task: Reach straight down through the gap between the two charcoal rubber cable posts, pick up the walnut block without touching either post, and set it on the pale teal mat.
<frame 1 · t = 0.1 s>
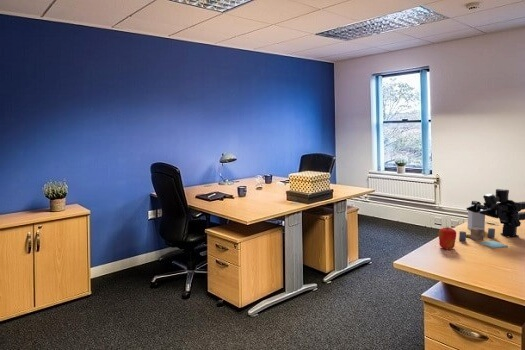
hand: (473, 210, 206), 17 cm above the table, tool horizontal, fingers open, 9 cm apart
apple: (446, 248, 195), on the table
supplement box: (475, 229, 228), on the table
cable post 2: (491, 237, 211), on the table
walnut block: (476, 239, 209), on the table
cable post 1: (462, 240, 207), on the table
pale teal mat: (493, 245, 198), on the table
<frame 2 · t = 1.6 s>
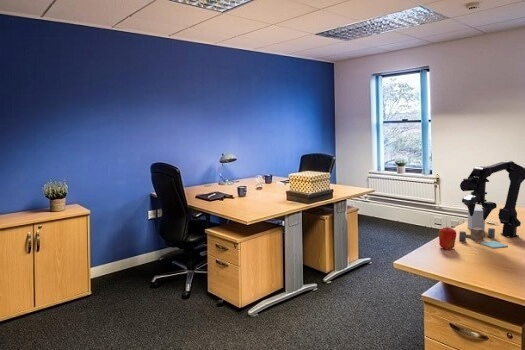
hand: (477, 218, 207), 12 cm above the table, tool pointing down, fingers open, 9 cm apart
nothing on the table moved.
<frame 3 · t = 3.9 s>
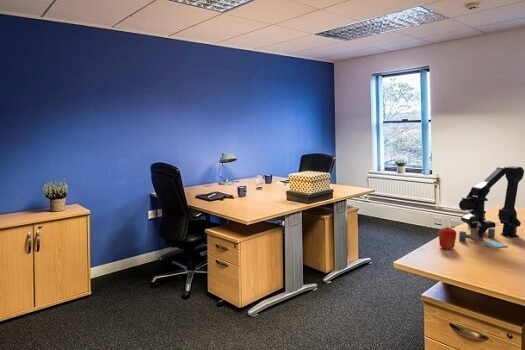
hand: (477, 236, 209), 2 cm above the table, tool pointing down, fingers closed on walnut block, 4 cm apart
walnut block: (476, 239, 209), on the table, touching gripper
everything else where it was.
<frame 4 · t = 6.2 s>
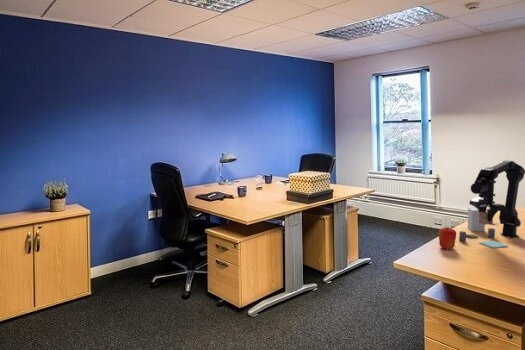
hand: (485, 220, 202), 12 cm above the table, tool pointing down, fingers closed on walnut block, 4 cm apart
walnut block: (485, 223, 202), point 11 cm above the table, touching gripper
everything else where it was.
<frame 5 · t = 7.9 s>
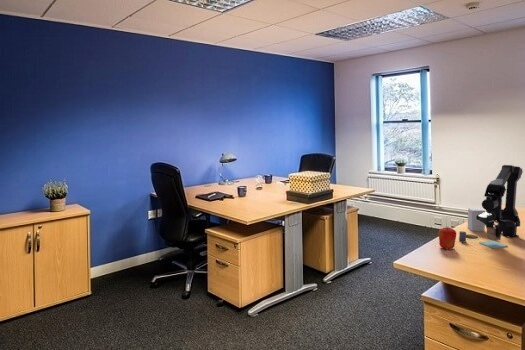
hand: (493, 236, 198), 5 cm above the table, tool pointing down, fingers closed on walnut block, 4 cm apart
walnut block: (493, 238, 198), point 3 cm above the table, touching gripper
everything else where it was.
when the fingers open (4 cm above the table, at t = 8.9 s): walnut block drops 1 cm, resting on pale teal mat.
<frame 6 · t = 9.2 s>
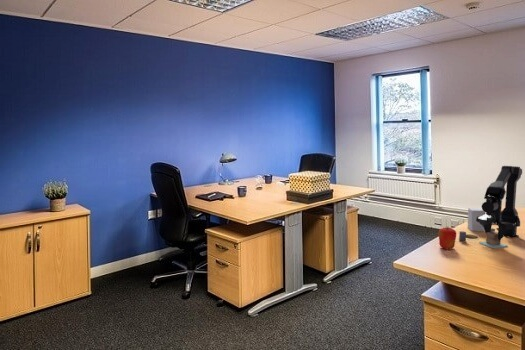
hand: (493, 238, 198), 4 cm above the table, tool pointing down, fingers open, 7 cm apart
walnut block: (493, 243, 198), point 1 cm above the table, touching pale teal mat
everything else where it was.
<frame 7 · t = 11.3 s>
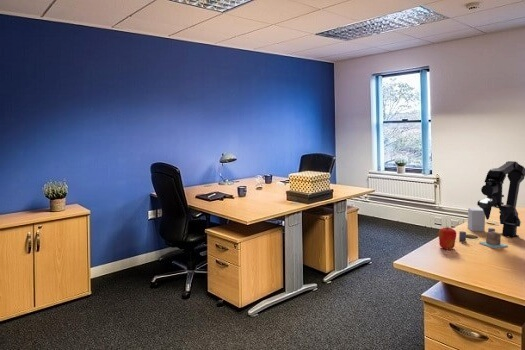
hand: (494, 221, 201), 12 cm above the table, tool pointing down, fingers open, 9 cm apart
nothing on the table moved.
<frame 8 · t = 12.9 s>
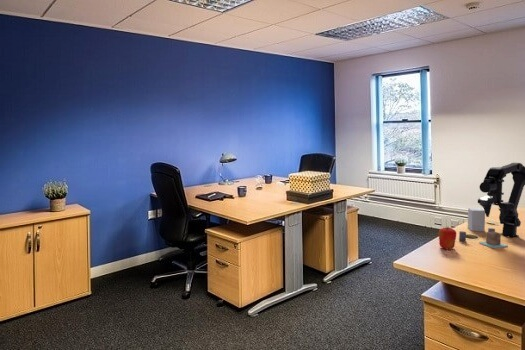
hand: (494, 218, 205), 12 cm above the table, tool pointing down, fingers open, 9 cm apart
nothing on the table moved.
at the end: walnut block 0.0 cm off-centre on the pale teal mat, point 0.6 cm above the pale teal mat's base; cable post 2 moved 0.0 cm from its start; cable post 1 moved 0.0 cm from its start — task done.
